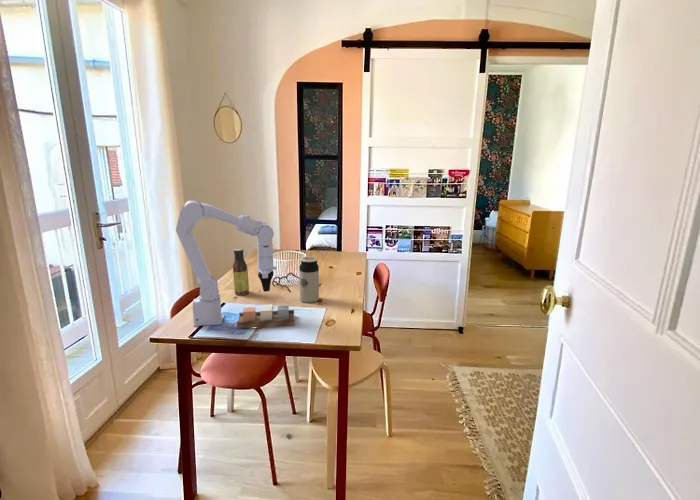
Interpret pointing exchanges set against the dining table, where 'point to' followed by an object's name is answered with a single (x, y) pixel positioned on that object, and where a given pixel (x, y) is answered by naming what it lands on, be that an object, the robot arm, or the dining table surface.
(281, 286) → the glasses
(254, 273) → the dining table surface
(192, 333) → the dining table surface
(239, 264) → the sauce bottle
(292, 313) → the panel
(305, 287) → the travel mug
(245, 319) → the salmon pink cube
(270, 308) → the cream cube
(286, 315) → the grey cube
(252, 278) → the dining table surface
